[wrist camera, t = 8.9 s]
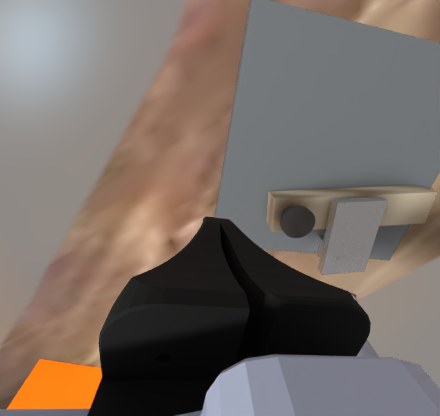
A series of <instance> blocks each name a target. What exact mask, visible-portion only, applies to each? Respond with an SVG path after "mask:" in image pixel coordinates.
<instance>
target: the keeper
mask: <svg viewBox="0 0 440 416" xmlns="http://www.w3.org/2000/svg"><path fill="white" fill-rule="evenodd" d="M386 203H387V200H385V199H383V198H381V197H366V198H344V199H332V203H331V207H330V212H329V217H328V222H327V226H326V231H325V234H322V235H317V240H316V245H315V250H314V251H315V253H316V254H317V255H318V256H319V258H320V260H319V265H318V270H319V271H320V273H321V274H322V275H323V274H338V273H353V272H365V268H366V265H367V262H368V259H369V256H370V253H371V250H372V247H373V244H374V241H375V237H376V234H377V231H378V228H379V225H380V222H381V219H382V216H383V213H384V210H385V206H386Z"/></svg>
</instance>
